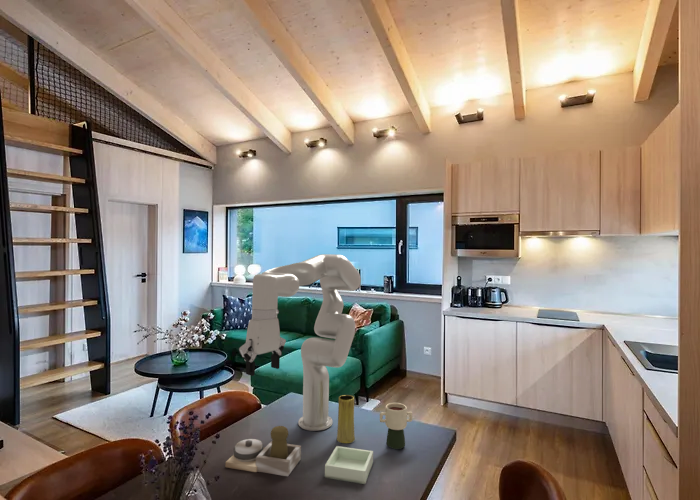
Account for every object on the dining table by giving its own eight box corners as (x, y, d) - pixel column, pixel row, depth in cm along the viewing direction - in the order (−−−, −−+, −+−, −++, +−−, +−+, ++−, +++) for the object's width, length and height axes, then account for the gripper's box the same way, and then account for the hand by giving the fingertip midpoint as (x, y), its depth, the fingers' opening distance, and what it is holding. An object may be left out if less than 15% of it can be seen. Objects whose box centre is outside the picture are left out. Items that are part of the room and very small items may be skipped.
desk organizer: (244, 449, 127) (244, 432, 127) (301, 458, 122) (301, 440, 122) (225, 467, 116) (225, 448, 116) (287, 477, 111) (287, 457, 111)
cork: (284, 471, 114) (285, 433, 114) (265, 468, 115) (265, 431, 115) (292, 460, 120) (292, 424, 120) (273, 458, 121) (273, 422, 121)
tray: (336, 457, 122) (336, 446, 123) (373, 462, 120) (373, 451, 120) (324, 477, 111) (324, 465, 111) (365, 484, 108) (365, 471, 108)
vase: (357, 437, 136) (357, 395, 136) (351, 445, 130) (351, 401, 131) (340, 434, 138) (341, 393, 138) (334, 442, 132) (334, 399, 133)
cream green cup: (409, 440, 134) (409, 402, 134) (414, 451, 127) (415, 410, 127) (377, 441, 133) (378, 402, 133) (381, 452, 126) (381, 411, 126)
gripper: (277, 311, 130) (276, 363, 129) (233, 316, 116) (231, 375, 115) (293, 313, 125) (292, 367, 125) (249, 319, 111) (248, 380, 111)
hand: (263, 371), depth 120 cm, fingers open, 9 cm apart
